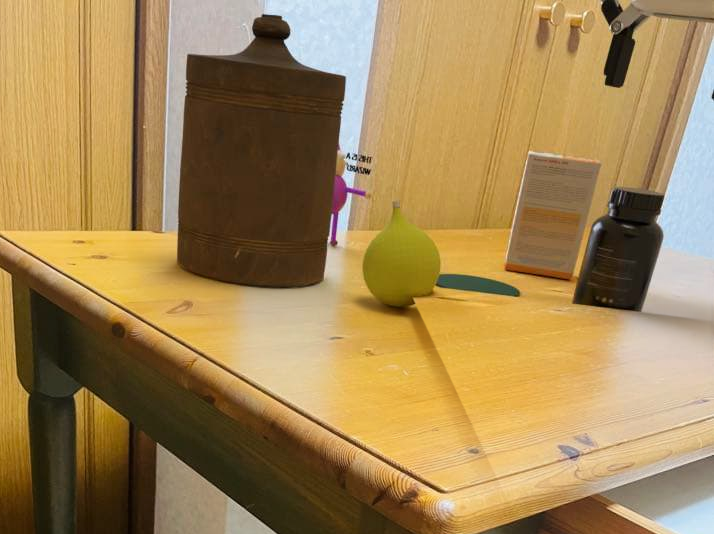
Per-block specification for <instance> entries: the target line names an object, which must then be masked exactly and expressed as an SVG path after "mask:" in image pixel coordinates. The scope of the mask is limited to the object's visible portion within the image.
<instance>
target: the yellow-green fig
mask: <svg viewBox="0 0 714 534" xmlns="http://www.w3.org/2000/svg"><path fill="white" fill-rule="evenodd" d="M394 189H396V187H394ZM394 193H396V190H394ZM394 198H395V199H394V200H393V201H392V214H391V216H390V220H389V221H388V223H387V224H386V225H385V226H384V227H383V229H381V230H380V232H378V233H377V234H376V235H375V236H374V238H373V239H372V240H371V241H370V242H369V244H368V246H367V248H366V250H365V252H364V255H363V260H362V277H363V280H364V283H365V285H366V287H367V289H368V291H369V292H370V294H372V295H373V297H374V298H375V299H376V300H378V301H379V302H381V303H383V304H385V305H388V306H390V307H396V308H406V307H410V306H414V305H416V304H417V303H416V301H415V299H414V297H422V296H427V295H430V294H431V293H432V291H433V290H434V288H435V287H436V286H437V285H436V283H437V280H438V278H439V274H441V265H442V264H441V256H440V253H439V250H438V247H437V245H436V244H435V242H434V241H433V239H432V238H431V236H429V235H428V233H426V232H424V231H423V230H421V229H420V228H418V227H417V226H415V225H414V224H412V223H410V221H408V220H407V218H406V217H404V215H403V213H402V211H401V207H400V206H401V205H400V200H397V198H396V197H394Z"/></svg>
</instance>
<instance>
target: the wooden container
mask: <svg viewBox="0 0 714 534" xmlns="http://www.w3.org/2000/svg"><path fill="white" fill-rule="evenodd" d="M251 31H252V35H253V36H254V38H253V40H252V41H251V42H250V43H249V45H247V46H246V47H245V48H244V49H243V50H242V51H240V52H238V53H234V54H223V55H221V54H218V55H215V54H196V53H187V55H186V66H185V80H186V82H185V89H186V91H185V93H186V95H184V103H183V104H184V105H183V121H182V122H183V123H182V137H181V138H182V139H181V140H182V141H181V154H180V166H179V186H178V204H177V205H178V206H177V212H178V213H177V222H178V223H177V226H178V227H177V240H176V241H177V245H176V261H177V263H178V264H179V265H180V266H181V267H182V268H184V269H185V268H186V270H187V271H189V272H191V273H194V274H197V275H200V276H203V277H205V278H210V279H215V280H219V281H223V282H229V283H235V284H240V285H241V284H242V285H250V286H258V287H273V288H274V287H278V288H281V287H282V288H283V287H284V288H285V287H303V286H310V285H313V284H316V283H318V282H320V281H322V280H323V279H324V277H325V271H326V263H327V256H328V242H329V237H330V235H331V225H332V223H331V222H332V217H333V214H332V207H333V197H334V186H335V174H336V163H337V154H338V144H339V145H340V136H341V135H340V133H341V125H342V124H341V123H342V114H343V112H342V111H343V110H344V108H343V106H344V103H343V102H344V101H345V96H346V85H347V76H346V75H342V74H337V73H332V72H328V71H323V70H319V69H317V68H313V67H310V66H308V65H305V64H302V63H301V62H300V61H298V60H297V59H296V58H295V57H294V56H293V55H292V53H291V52H290V50H289V48H288V46H287V45H286V42H285V40H288V39H289V38H290V37H291V27H290V24H289V23H288V22H287V21H286V20H285V19H284V20H283V16H282V15H278V14H266V13H263V14H261V16H260V17H259V16H257V17H255V18H254V20H253V22H252V27H251Z"/></svg>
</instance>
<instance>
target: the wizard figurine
mask: <svg viewBox="0 0 714 534" xmlns="http://www.w3.org/2000/svg"><path fill="white" fill-rule="evenodd" d="M352 155H353V156H352V157H351V154H350V152H347V154H345V153H344V151H343V150H341V146H340V143H339V144H338V154H337V163H336V174H335V186H334V197H333V207H332V223H331V232H330V241H329V244H330V246H332V247H337V246H338V243H339V242H338V240H337V231H338V222H339V213H340V211H341V210H342V209H343V208H344V206H345V205H346V202H347V199H348V193H349V194H352V195H357V196H361V197H364V198H366V199H368V200H370V199H372V195H373V194H372V192H371V190H366V191H365V190H362V189H357V188H353V187H348V185H347V183H346V181H345V179H344V177H342V176H343V175H344V174H345V169H346V170H347V171H348V172H353V173H357V174H361V175H366V176H370V174H371V171H372V168H367V167H364V166H359V165H358V166H356V165H353V164H349V163H348V162H347V159H348V160H352V161H356V162H361V163H366V164H372V159H373V157H372V156H367V155H362V154H359V155H358V153H352ZM358 156H359V158H358Z"/></svg>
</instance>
